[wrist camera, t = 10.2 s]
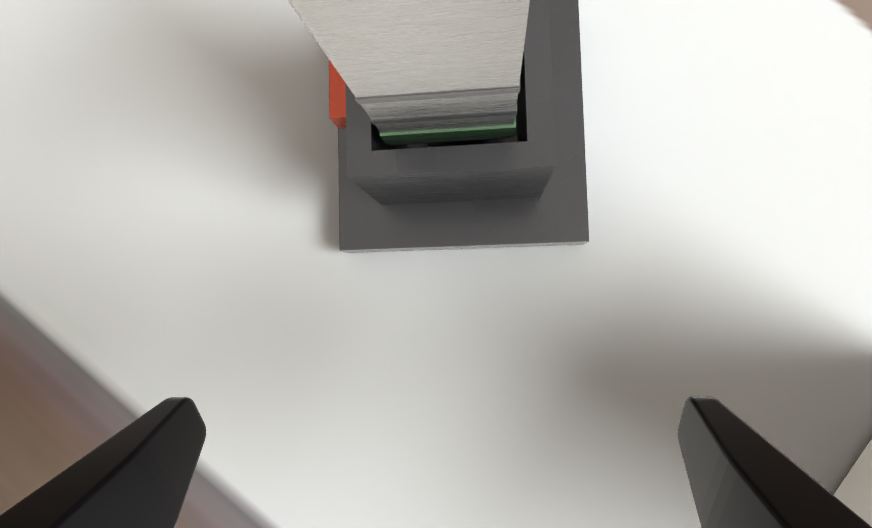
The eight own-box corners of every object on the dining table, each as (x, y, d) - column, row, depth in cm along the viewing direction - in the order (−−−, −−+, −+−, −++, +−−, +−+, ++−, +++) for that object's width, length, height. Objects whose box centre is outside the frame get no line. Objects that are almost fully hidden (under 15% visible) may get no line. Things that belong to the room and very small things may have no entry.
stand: (583, 244, 20) (621, 223, 14) (348, 252, 21) (292, 236, 15) (573, 11, 21) (605, -103, 15) (345, 31, 22) (290, -67, 16)
